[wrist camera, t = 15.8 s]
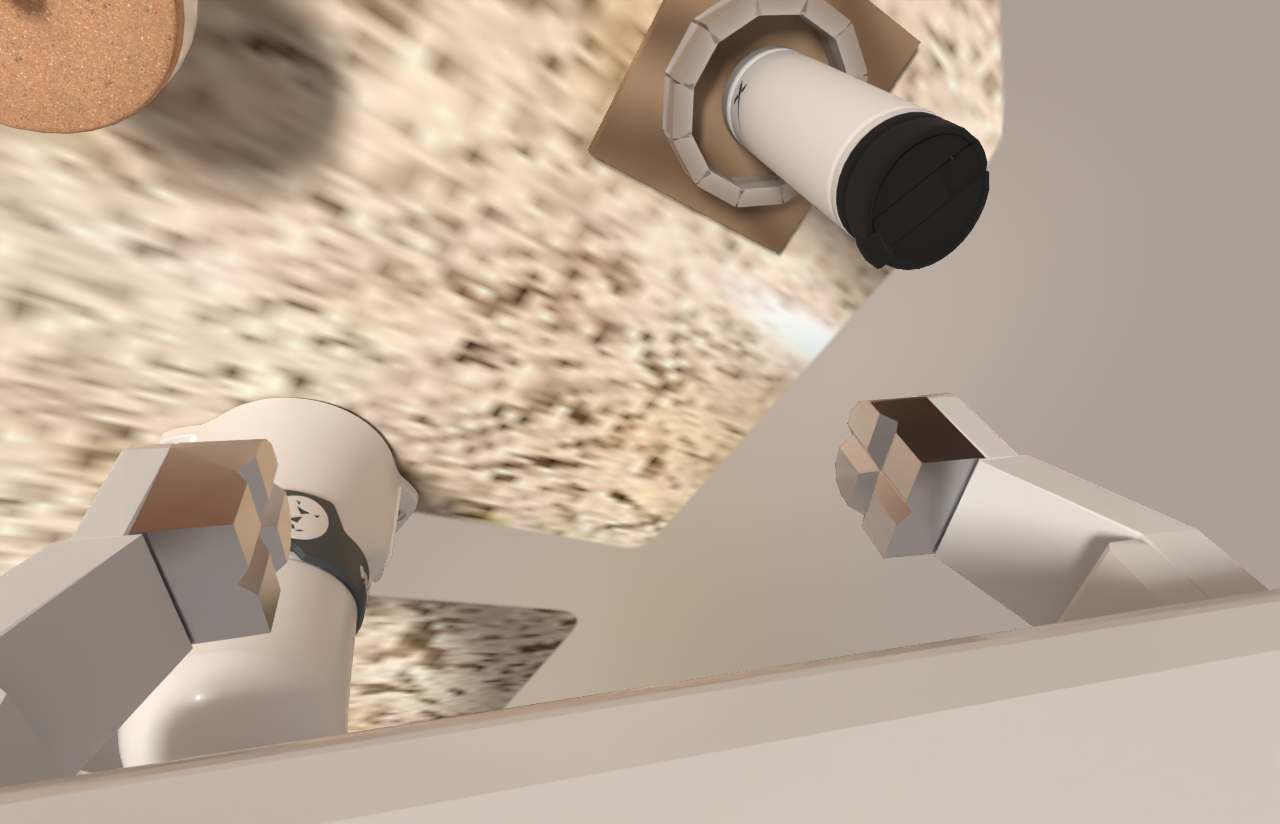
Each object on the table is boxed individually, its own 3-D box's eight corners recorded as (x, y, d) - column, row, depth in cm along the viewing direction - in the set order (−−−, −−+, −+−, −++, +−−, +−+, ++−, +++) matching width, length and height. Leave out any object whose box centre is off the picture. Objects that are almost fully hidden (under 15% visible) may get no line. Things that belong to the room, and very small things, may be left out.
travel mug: (697, 95, 45) (837, 206, 29) (783, 21, 43) (980, 95, 28) (747, 170, 48) (895, 305, 33) (828, 105, 47) (1023, 212, 31)
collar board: (773, 247, 53) (791, 267, 51) (587, 149, 46) (597, 166, 43) (912, 39, 47) (942, 48, 44) (721, -114, 39) (742, -115, 37)
